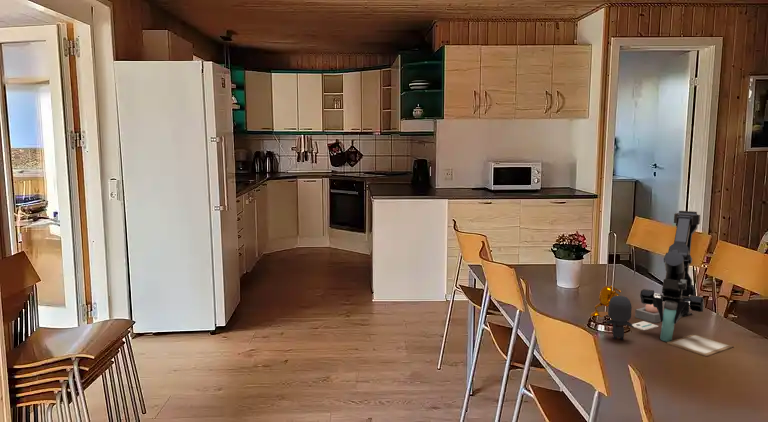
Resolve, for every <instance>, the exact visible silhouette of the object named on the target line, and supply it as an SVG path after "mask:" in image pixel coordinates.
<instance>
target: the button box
mask: <svg viewBox="0 0 768 422" xmlns="http://www.w3.org/2000/svg"><path fill="white" fill-rule="evenodd" d="M645 308H646V306H644V307H641V308H636V309H635V312H634V313H635V314H634V318H636V319H639V320H642V321H645V322H648V323H651V324H657V323H660V322H661V320H660V316H659V312H658V313H650V312H647V311H645ZM663 314H664V309H663ZM661 323H662V322H661Z"/></svg>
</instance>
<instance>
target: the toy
mask: <svg viewBox="0 0 768 422" xmlns="http://www.w3.org/2000/svg"><path fill="white" fill-rule="evenodd" d="M632 307H633V306H632V303H631V301H630V299H629V298H628V297H627V296H624V295H622V296H621V294H619V296H614V297H612V298H611V300H610V302H609V307H607V308H608V310H607V312H608V316H609V317H610V318H611V320H609V321H607V320H606V322H605V323H604V324H603V325H604V326H607V325H610V324H612V331H611V333H612V338H613V339H614V340H617V338H619V340H620V341H623V340H624V337H625V326H628V327H630V328H635V327H634V326H632V324H633V323H631V322H629V321H630V320H631V318H632Z"/></svg>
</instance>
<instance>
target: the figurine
mask: <svg viewBox="0 0 768 422" xmlns="http://www.w3.org/2000/svg"><path fill="white" fill-rule="evenodd" d="M612 286H613V285H609V286H608V285H605V286H603V287H602V288H601V289H600V292H599V295H598V301H599V303H597V304H596V305H594V309H595V310H594V311H593V312H590V315H589V317H591V316H600V317H603V316H605V315H608V311H599V310H598V307H602V306H604V307H607V308H609V302H610V300H611V298H612V297H614V296H619V295H621V294H619V293H622V291H621V290H620V289H618V288H615V287H614V286H613V291H612ZM617 292H618V293H617ZM621 296H623V295H621Z"/></svg>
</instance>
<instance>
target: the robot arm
mask: <svg viewBox="0 0 768 422" xmlns="http://www.w3.org/2000/svg"><path fill="white" fill-rule="evenodd" d="M673 215H674V217H673V223H674V224H675V226H676V228H675V229H676V230H675V234H674V241H673V243H672V244H670V245H669V247H668V251H667V252H666V253H665V255H664V257H663V263H664V267H665V278H664V279H663V282H662V288H661V294H660V293H656V292H655V290H654V289H652V290H651V289H647V288H642V289H641V290H640V292H639V293H640V294H639V296H640V302H641V304H643V305H644V304H645V305H646V304H650V305H652V304H653V306H654V307H656V308H657V310H658V312H659V316H660V320H661V323H662V321H663V310H664V305H663V303H665V301H666V300H670V301H675V302H677V303H678V305H677V310H676V315H675V319H674V325H677V323H678V322H679V320H680V319H681V317H682V318H683V317H688V316H691V315H693V312H700V313H703V312H704V307H705V306H704V302H705V301H704V298H703V296H699V295H696V287H695V285H694V284H693V280H692V278H691V276H690V273H689V270H690V269H689V268H690V265H691V264H692V263H693V258H692V255H691V251H692V248H691V247H692V239H693V235H694V234H695V232H697V230H698V226H700V224H701V214H698V211H692V210H691V211H689V210H679V211H678V212H675V213H673ZM690 310H691V311H693V312H691V311H690Z"/></svg>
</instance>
